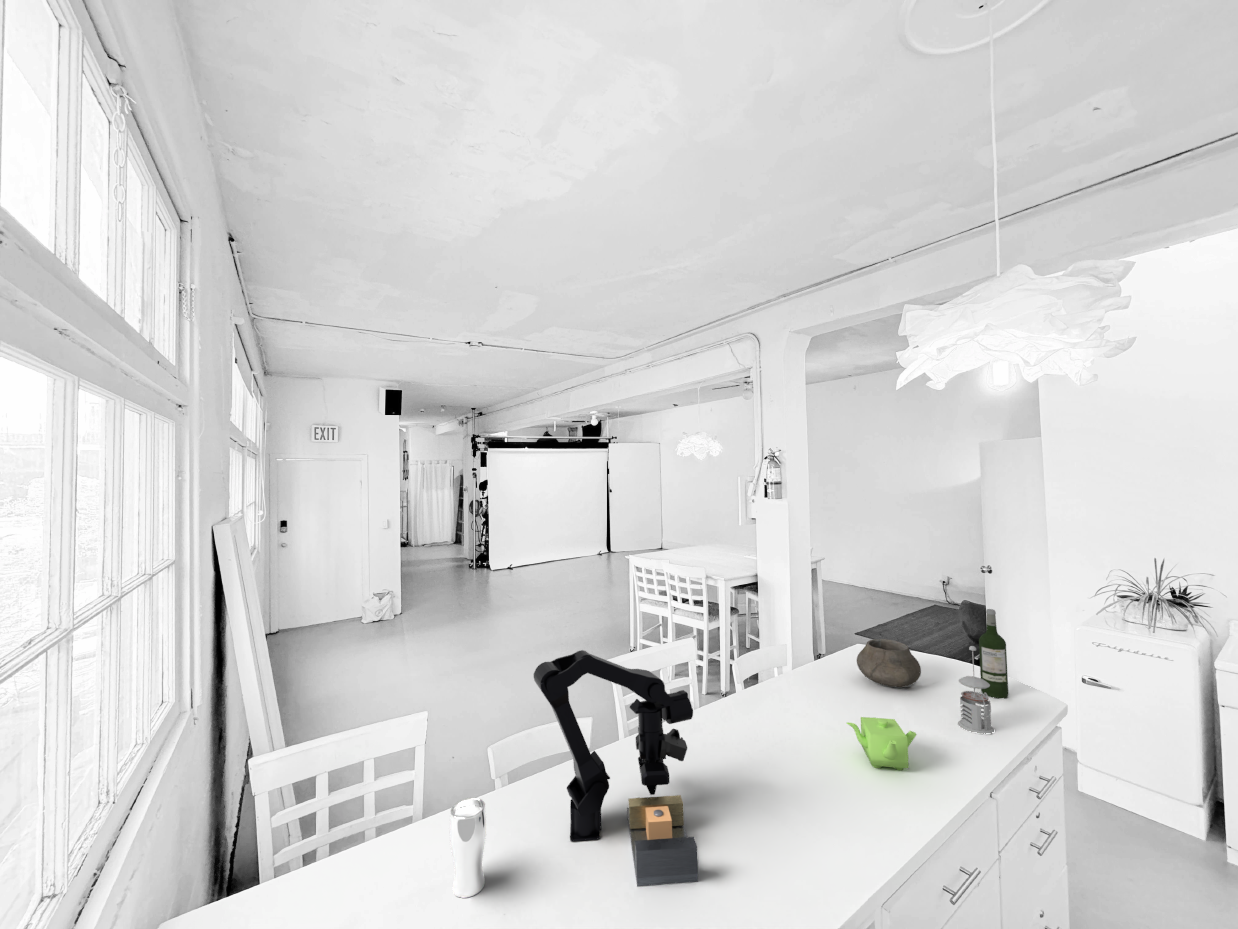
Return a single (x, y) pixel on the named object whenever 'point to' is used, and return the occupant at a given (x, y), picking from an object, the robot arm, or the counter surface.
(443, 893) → the counter surface
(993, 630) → the wine bottle
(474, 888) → the beer glass
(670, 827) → the block
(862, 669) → the clay pot
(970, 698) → the french press
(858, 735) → the kettle
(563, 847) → the counter surface
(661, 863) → the vise bed
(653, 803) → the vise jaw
